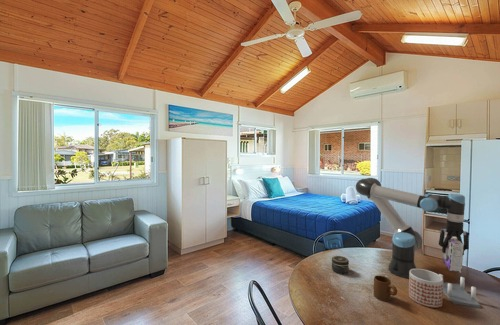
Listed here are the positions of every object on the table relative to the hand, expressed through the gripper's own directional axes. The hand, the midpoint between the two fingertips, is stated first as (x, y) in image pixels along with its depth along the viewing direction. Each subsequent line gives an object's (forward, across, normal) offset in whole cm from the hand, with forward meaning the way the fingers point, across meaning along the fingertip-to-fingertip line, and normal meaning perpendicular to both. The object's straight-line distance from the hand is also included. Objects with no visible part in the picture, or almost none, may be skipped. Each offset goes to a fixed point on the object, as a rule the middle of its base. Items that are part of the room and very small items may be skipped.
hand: (452, 259), depth 143 cm
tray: (+12, -6, -19) cm, 23 cm away
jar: (+13, -62, -10) cm, 64 cm away
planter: (+12, -23, -29) cm, 39 cm away
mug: (+12, -42, -35) cm, 57 cm away
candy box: (+5, 0, 0) cm, 5 cm away
